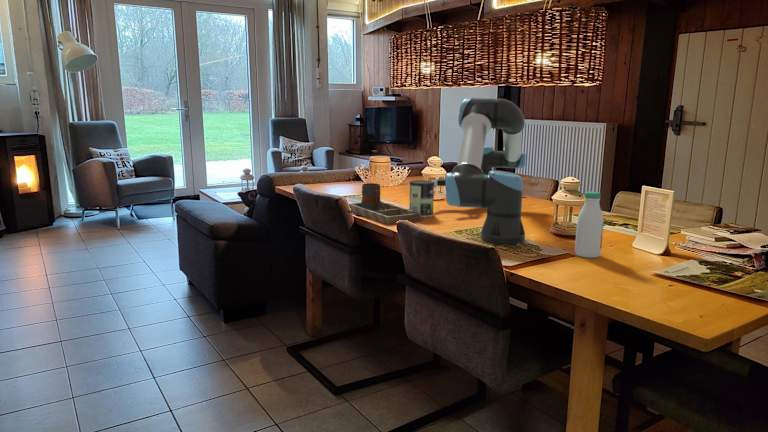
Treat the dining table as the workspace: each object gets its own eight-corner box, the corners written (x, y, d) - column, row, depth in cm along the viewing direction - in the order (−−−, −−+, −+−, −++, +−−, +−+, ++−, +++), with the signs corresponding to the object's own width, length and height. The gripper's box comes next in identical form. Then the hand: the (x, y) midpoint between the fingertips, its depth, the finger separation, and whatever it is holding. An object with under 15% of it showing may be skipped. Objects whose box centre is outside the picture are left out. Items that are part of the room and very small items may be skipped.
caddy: (421, 220, 222) (421, 213, 222) (387, 224, 214) (387, 217, 213) (379, 207, 249) (379, 200, 248) (348, 210, 241) (348, 203, 240)
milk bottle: (597, 259, 169) (603, 195, 165) (571, 256, 173) (576, 192, 169) (602, 254, 176) (608, 191, 172) (577, 250, 180) (582, 189, 176)
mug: (369, 215, 231) (369, 187, 229) (357, 210, 242) (358, 183, 240) (387, 213, 235) (388, 186, 233) (375, 208, 246) (376, 182, 243)
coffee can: (434, 213, 238) (435, 180, 235) (431, 218, 228) (432, 183, 225) (410, 212, 240) (411, 179, 237) (406, 216, 230) (407, 182, 227)
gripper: (491, 194, 244) (459, 199, 230) (449, 186, 262) (417, 191, 248) (492, 177, 242) (460, 181, 228) (449, 170, 260) (417, 174, 246)
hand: (437, 186), depth 238 cm, fingers open, 13 cm apart
